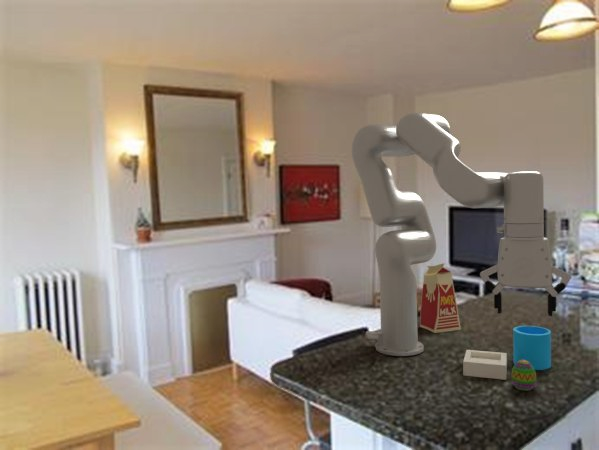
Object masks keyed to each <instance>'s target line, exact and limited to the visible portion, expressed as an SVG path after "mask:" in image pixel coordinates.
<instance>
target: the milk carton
mask: <svg viewBox="0 0 599 450" xmlns="http://www.w3.org/2000/svg"><path fill="white" fill-rule="evenodd" d="M444 266H445V263H440V264H437V265H427V266H426V267H427V268H428V269H427V271H426V272H425V274H424V276H423V282H422V283H423V284H422V290H421V302H420V317H419V327H420V328H422V329H425V330H428V331H430V332H432V333H434V334H438V333H445V332H447V333H448V332H453V331H459V330H460V331H461V330H462V328H461V327H462V326H461V322H460V321H461V320H460V316H459V310H458V303H457V297H456V293H455V292H456V291H455V286H454V280H453V275H452V271H451V270H448V269H447V268H445V267H444Z"/></svg>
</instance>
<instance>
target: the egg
mask: <svg viewBox="0 0 599 450" xmlns="http://www.w3.org/2000/svg"><path fill="white" fill-rule="evenodd" d="M510 378H511V382H512V384H513V386H514V387H515V388H516V389H517V390H519V391H526V392H527V391H532V390H533V389H534V388H535V386H536V384H537V373H536V370H534V368H533V366H532V365H531V364H530V363H529V362H528V361H527V360H519V361H518V362H517V363H516V364H514V365H513V366H512V369H511V374H510Z"/></svg>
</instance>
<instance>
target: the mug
mask: <svg viewBox="0 0 599 450" xmlns="http://www.w3.org/2000/svg"><path fill="white" fill-rule="evenodd" d="M512 330H513V331H512V332H513V333H512V334H513V337H512V339H513V340H512V341H513V345H512V346H513V348H512V349H513V355H512V356H513V358H512V359H513V360H512V361H513V362H512V363H513V364H514V365H515V364H516V363H517V362H518V361H519V360H527V361H528V362H529V363H530V364H531V365H532V366H533V368H534V370H535V371H543V370H548V369H550V368H551V367H552V331H551V330H550V329H548V328H546V327H541V326H536V325H519V326H516V327H513V329H512Z"/></svg>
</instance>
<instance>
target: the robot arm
mask: <svg viewBox="0 0 599 450" xmlns="http://www.w3.org/2000/svg"><path fill="white" fill-rule="evenodd" d="M352 140H353V141H352V145H351V157H352V161H353V164H354V167H355V169H356V172H357V173H358V176H359V178H360V181H361V184H362V188H363V192H364V196H365V200H366V202H367V205H368V211H369V213H370V217H371V219H372V221H373V222H374V224H375V225H376V226H378V227H381V228H392V227H393V228H394V227H401V229H397V230H396V229H395V230H390V231H387V232H385V233H383V234H382V235H380V236H379V237H378V239H377V240H376V242H375V246H374V250H375V251H374V253H375V258H376V263H377V266H378V267H377V268H378V275H379V277H378V278H379V298H380V299H379V302H380V303H379V304H380V305H379V306H380V330H378V331H371V330H370V331H368V330H367V331H365V338H366V339H367V340H368V341H376V343H375V346H374V347H375V350H376V351H377V352H378V353H380V354H383V355H387V356H393V357H411V356H415V355H419V354H421V353H422V352H424V350H425V349H424V347H425V346H424V344H423V343H422V342H421V341H418V340H419V337H418V334H419V333H418V290H417V288H418V285H417V279H416V276H415V273H414V272H413V270H412V267H411V266H412V265H419V264H424V263H426V262H429V261H430V260H432V259H433V257H434V256H435V255H436V250H437V241H436V240H437V239H436V237H435V234H434V230H433V227H432V223H431V219H430V216H429V213H428V210H427V207H426V205H425V202H424V200H423V199H422V198H421V196H419V194H418V193H415V192H413V191H411V190H399V189H398V188H397V185H396V181H395V178H394V175H393V173H392V170H391V168H390V167H389V166H388V165H387V163H385V162H384V160H383V159H382V158H383V157H389V158H390V157H392V158H393V157H394V158H396V157H397V158H399V157H409V156H414V155H416V156H417V157H418V158H420V160H422V161H423V162H425V163H426V164H427V165H428V166H430V167H431V168H432V173H433V176H434V179H435V180H436V182H437V185H438V186H439V187H440V188H441V190H443V191H444V192H445V193H446V194H447V195H448V196H449V197H451V198H452V199H453V200H455V201H456V202H457V203H458V204H461V205H462V206H463V207H466V208H470V209H481V208H482V209H483V208H496V207H503V224H502V225H500V226H499V225H497V226H496V233H499V234H502V235H503V236H504V237H501V238H500V240H499V244H498V254H497V264H495V265H493V266H491V267H489V268H487V269H484V270H482V271H481V272H480V273H479V277H481V279H482V281H483V283H484V285H485V287H487V289H489V290H490V291H491V292H492V294H493V301H494V302H493V303H494V305H493V307H494V309H496V310H497V314H502V313H503V312H502V308H503V306H502V305H503V303H502V302H503V300H502V297H503V295H502V293H501V291H502V290H503V289H504V288H505V287H507V288H527V289H531V288H532V289H545V290H546V291H547V293H548V294H547V315H548V316H549V317H553V312H557V297H558V295H559V294H560V293H562V292H563V291H564V290H565V289H566V287H567V286H568V284H569V282H570V280H571V279H572V276H571V274H570V273H568V272H566V271H564V270H562V269H560V268H558V267H556V266H553V265H552V255H551V247H550V242H549V239H548V238H547V237H545V234H544V233H545V232H544V231H545V230H544V229H545V225H544V222H545V221H544V216H545V215H544V213H545V212H544V211H545V210H544V209H545V208H544V202H545V201H544V197H545V196H544V176H543V174H542V173H541V172H539V171H533V170H532V171H529V170H528V171H513V172H499V171H498V172H491V171H490V172H485V171H484V172H481V171H480V172H475V171H474V170H473V169H471V168H470V167H469V166H468V165H466V164H465V163H463V162H462V161H461V160H460V159H458V158H459V156H460V153H461V143H460V141H459V140H458V139H457V138H455V137H454V136H453V135H451V127H450V124H449V122H448V120H446V118H444V117H443V116H441V115H438V114H435V113H434V114H433V113H432V114H431V113H423V112H412V113H411V112H410V113H407V114H405V115H403V116H402V117H401V118H400V119H399V121H398V122H397V123H396V124H385V123H372V124H367V125H365V126H362V127H361V128H359V129H358V130H357V131H356V133H355V135H354V137H353V139H352ZM495 273H497V281H498V282H497V283H496V284H494V282H493V281H491V280H490V277H489V276H491V275H493V274H495ZM553 275H556V276H558V277H560V278H561V279H560V281H559V282H558V284H557V285H555V286H553V285H552V279H553V278H552V277H553Z"/></svg>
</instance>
